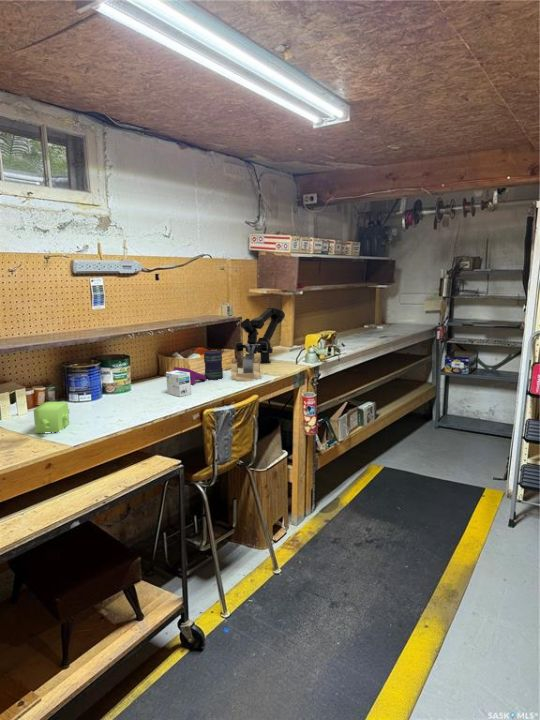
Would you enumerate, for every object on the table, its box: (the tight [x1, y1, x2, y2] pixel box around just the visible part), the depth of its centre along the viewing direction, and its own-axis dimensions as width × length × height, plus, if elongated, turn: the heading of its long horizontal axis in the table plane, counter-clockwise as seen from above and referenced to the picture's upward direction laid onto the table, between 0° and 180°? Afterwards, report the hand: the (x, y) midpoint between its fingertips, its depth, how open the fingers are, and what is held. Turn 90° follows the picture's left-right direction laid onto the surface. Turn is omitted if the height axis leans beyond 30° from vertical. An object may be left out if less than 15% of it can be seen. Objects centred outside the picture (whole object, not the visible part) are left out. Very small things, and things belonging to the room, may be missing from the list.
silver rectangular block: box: [242, 353, 255, 373], centre depth 264 cm, size 20×5×10 cm, turn 179°
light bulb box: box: [165, 370, 192, 397], centre depth 222 cm, size 11×7×11 cm, turn 47°
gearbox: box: [33, 401, 70, 434], centre depth 174 cm, size 18×10×10 cm, turn 3°
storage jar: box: [203, 349, 224, 381], centre depth 254 cm, size 10×10×15 cm
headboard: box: [230, 357, 261, 382], centre depth 248 cm, size 6×15×12 cm, turn 86°
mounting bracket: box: [172, 366, 207, 386], centre depth 245 cm, size 10×8×18 cm
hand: (250, 358), depth 274 cm, fingers closed
